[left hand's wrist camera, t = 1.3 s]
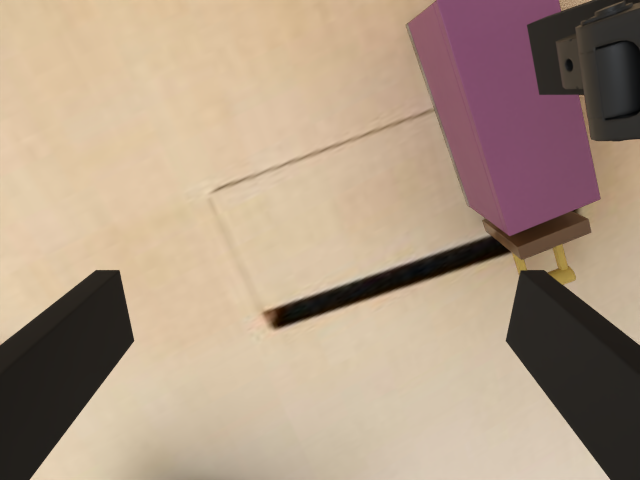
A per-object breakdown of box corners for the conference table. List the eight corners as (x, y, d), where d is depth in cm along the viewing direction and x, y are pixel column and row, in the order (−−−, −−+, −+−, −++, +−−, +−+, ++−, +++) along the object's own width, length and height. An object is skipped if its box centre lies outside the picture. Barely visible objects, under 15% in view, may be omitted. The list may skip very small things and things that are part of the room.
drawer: (557, 262, 37) (606, 296, 30) (503, 283, 37) (540, 321, 31) (496, 37, 30) (544, 21, 23) (431, 69, 30) (460, 62, 24)
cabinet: (536, 175, 34) (601, 199, 27) (467, 205, 35) (509, 236, 28) (485, -17, 29) (547, -58, 21) (405, 24, 30) (436, 0, 22)
